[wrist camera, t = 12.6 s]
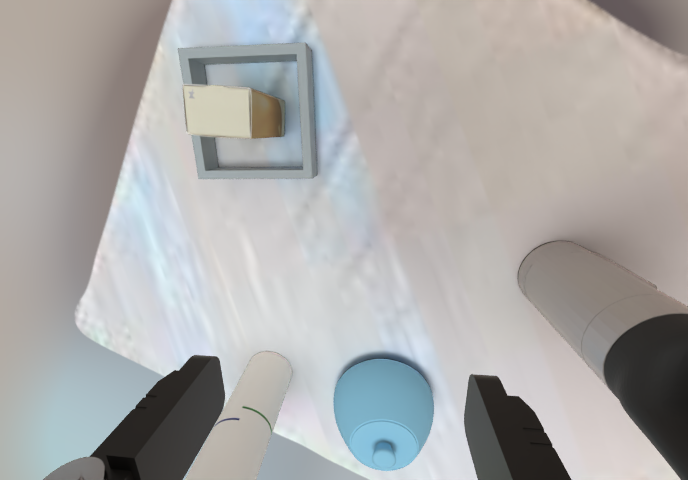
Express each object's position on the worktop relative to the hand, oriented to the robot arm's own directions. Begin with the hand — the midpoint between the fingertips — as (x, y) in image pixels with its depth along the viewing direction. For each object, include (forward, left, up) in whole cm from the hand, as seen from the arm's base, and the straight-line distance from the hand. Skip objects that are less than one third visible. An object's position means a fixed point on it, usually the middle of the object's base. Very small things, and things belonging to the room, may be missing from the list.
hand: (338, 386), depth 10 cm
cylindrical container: (+15, +28, -33) cm, 46 cm away
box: (+13, -10, -33) cm, 37 cm away
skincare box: (+13, -10, -33) cm, 37 cm away
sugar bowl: (-3, +31, -33) cm, 46 cm away
